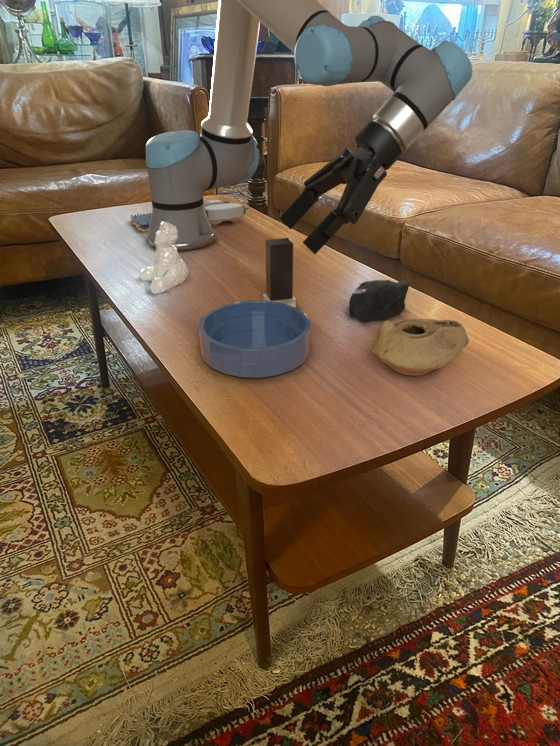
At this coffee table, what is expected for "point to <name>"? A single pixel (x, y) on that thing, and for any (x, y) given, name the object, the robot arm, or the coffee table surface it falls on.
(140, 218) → the woven mat
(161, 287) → the white creature statuette
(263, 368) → the bowl
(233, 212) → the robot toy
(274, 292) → the eraser
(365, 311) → the mineral
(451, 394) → the coffee table surface
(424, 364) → the oil lamp
